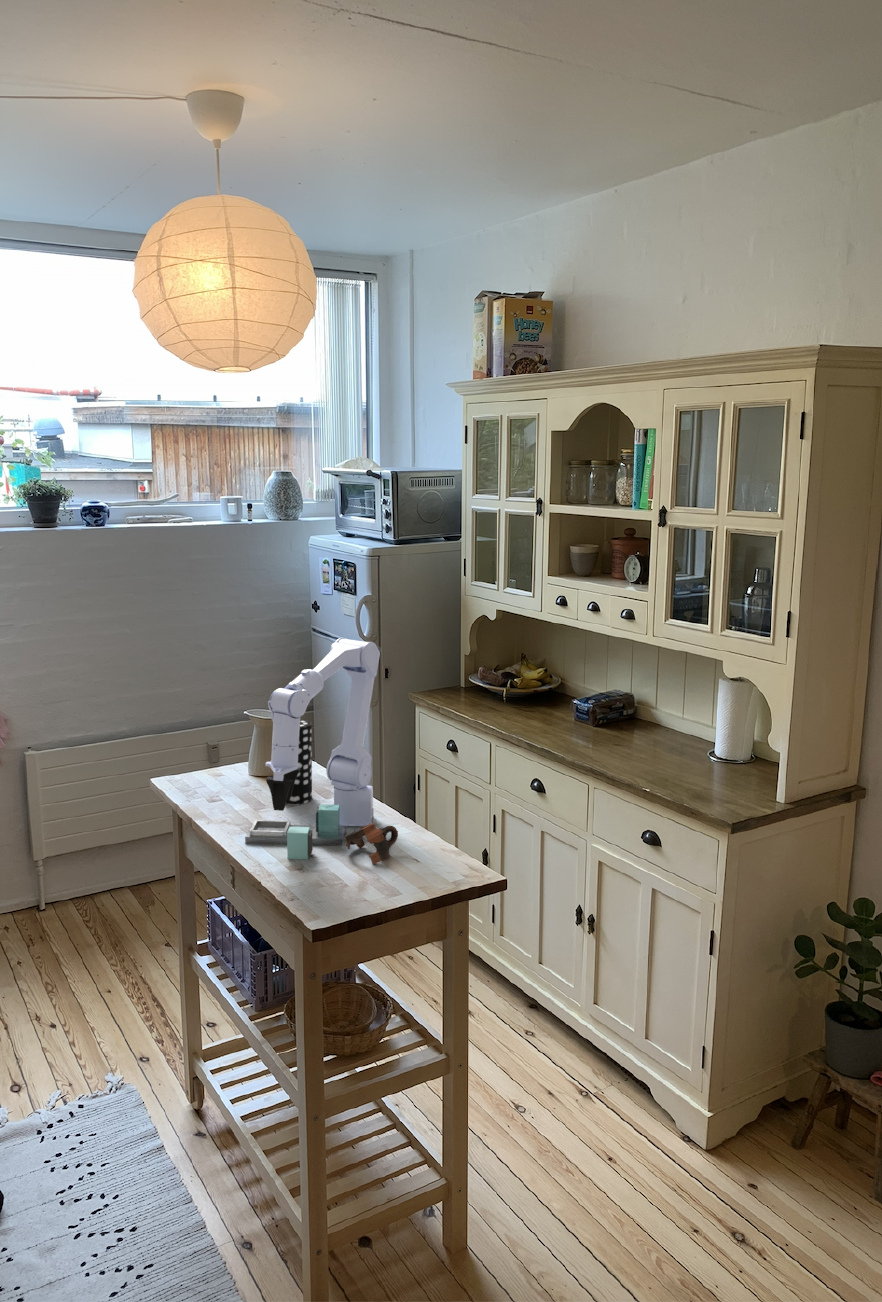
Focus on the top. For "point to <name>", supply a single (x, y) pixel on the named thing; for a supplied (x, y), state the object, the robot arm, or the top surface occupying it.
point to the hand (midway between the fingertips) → (282, 805)
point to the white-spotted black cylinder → (303, 766)
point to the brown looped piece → (373, 840)
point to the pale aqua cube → (299, 842)
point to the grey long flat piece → (322, 832)
